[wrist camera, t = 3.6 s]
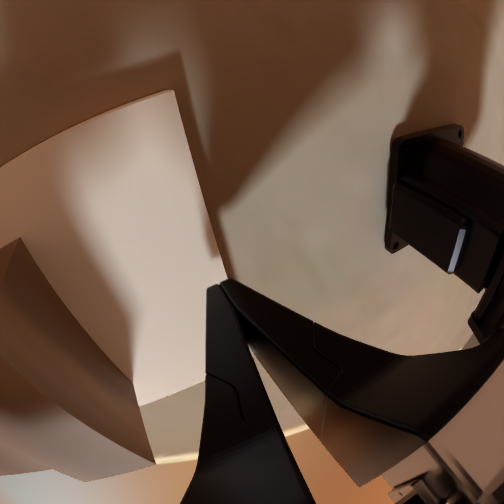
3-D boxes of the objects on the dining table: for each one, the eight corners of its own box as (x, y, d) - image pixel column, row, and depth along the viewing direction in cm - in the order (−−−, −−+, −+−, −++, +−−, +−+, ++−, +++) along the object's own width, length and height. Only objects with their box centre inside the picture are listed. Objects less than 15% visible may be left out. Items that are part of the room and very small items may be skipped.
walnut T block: (19, 236, 7) (-15, 340, 4) (133, 383, 12) (156, 464, 9) (-93, 316, 5) (-120, 396, 2) (19, 421, 10) (24, 489, 7)
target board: (167, 89, 7) (174, 90, 7) (245, 344, 15) (253, 358, 14) (-138, 300, 3) (-145, 314, 2) (-6, 432, 11) (-6, 445, 10)
